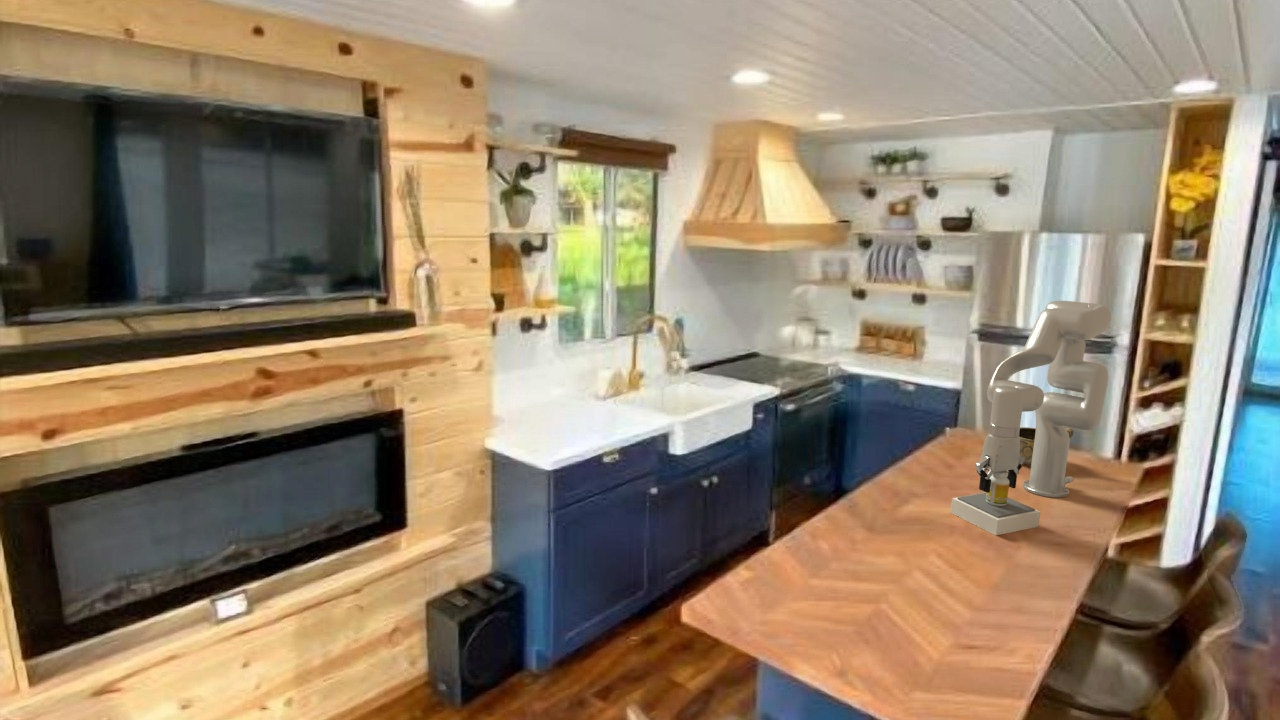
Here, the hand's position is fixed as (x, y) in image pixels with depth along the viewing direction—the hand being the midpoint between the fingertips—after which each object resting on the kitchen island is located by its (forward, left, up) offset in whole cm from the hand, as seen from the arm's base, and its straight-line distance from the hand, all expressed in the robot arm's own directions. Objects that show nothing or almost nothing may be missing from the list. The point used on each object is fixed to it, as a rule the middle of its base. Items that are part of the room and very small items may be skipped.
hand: (997, 488), depth 202 cm
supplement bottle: (0, 0, -4) cm, 5 cm away
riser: (0, 0, -9) cm, 9 cm away
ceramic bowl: (-52, -31, -10) cm, 61 cm away
